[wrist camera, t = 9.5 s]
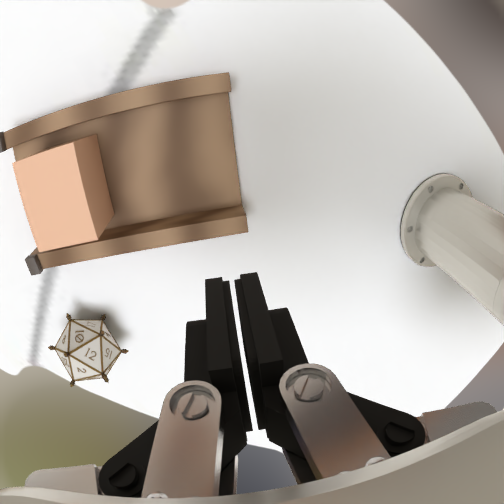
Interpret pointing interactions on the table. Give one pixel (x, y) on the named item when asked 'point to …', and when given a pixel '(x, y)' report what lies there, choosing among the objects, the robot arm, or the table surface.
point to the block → (65, 193)
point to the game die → (87, 349)
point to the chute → (150, 165)
